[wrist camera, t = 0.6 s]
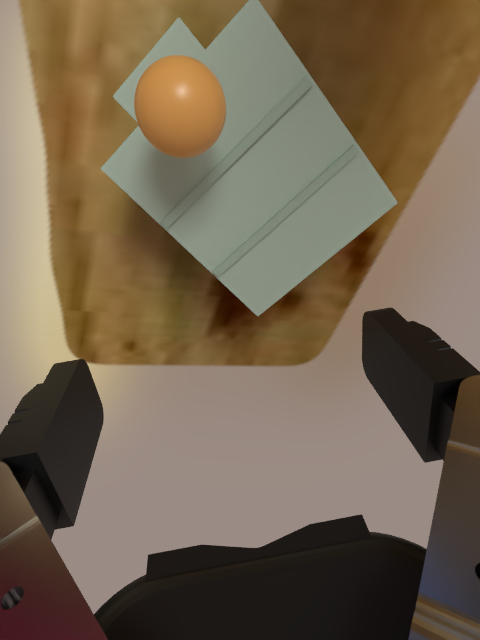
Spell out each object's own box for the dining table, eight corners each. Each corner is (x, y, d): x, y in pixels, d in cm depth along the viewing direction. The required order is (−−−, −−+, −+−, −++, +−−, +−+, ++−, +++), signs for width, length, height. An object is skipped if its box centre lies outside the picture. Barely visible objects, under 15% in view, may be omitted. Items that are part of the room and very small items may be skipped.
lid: (227, -40, 19) (238, -95, 13) (392, 199, 26) (450, 235, 20) (77, 141, 23) (30, 162, 17) (256, 311, 29) (270, 370, 23)
